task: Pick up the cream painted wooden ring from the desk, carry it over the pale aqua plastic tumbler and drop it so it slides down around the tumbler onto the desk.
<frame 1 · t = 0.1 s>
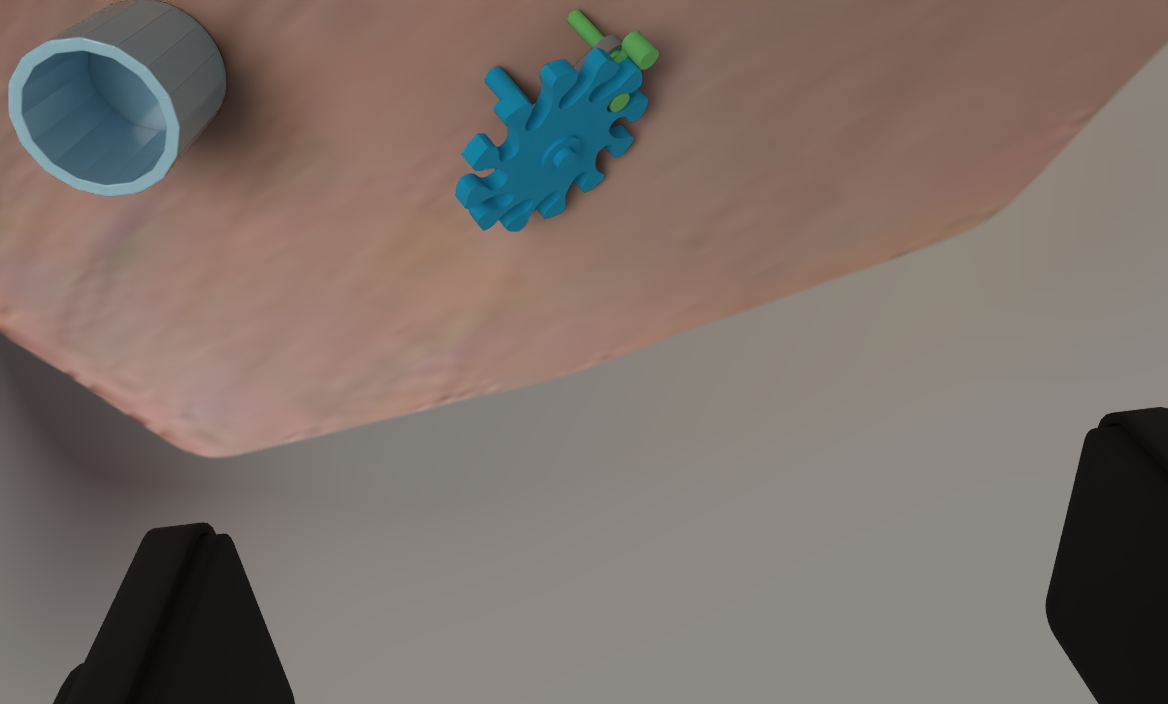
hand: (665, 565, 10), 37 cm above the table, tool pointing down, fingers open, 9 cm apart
cup: (155, 69, 42), on the table
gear: (557, 110, 45), on the table
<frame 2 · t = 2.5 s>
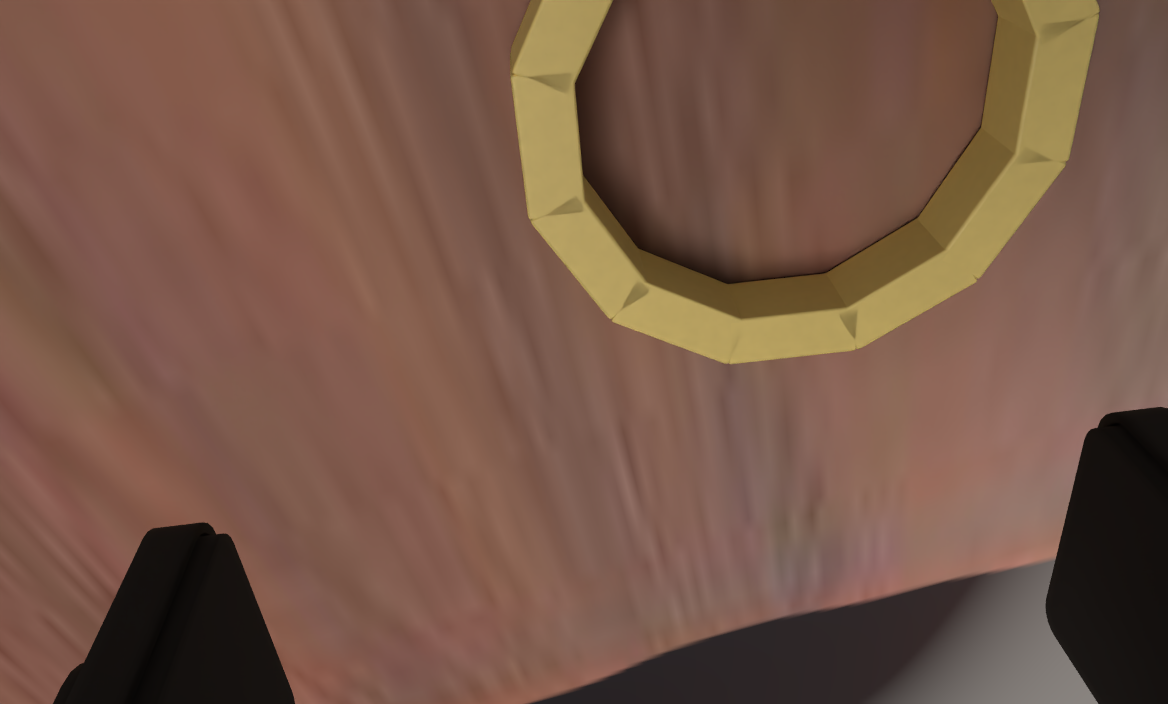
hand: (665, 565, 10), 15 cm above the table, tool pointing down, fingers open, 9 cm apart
ring: (782, 94, 23), on the table
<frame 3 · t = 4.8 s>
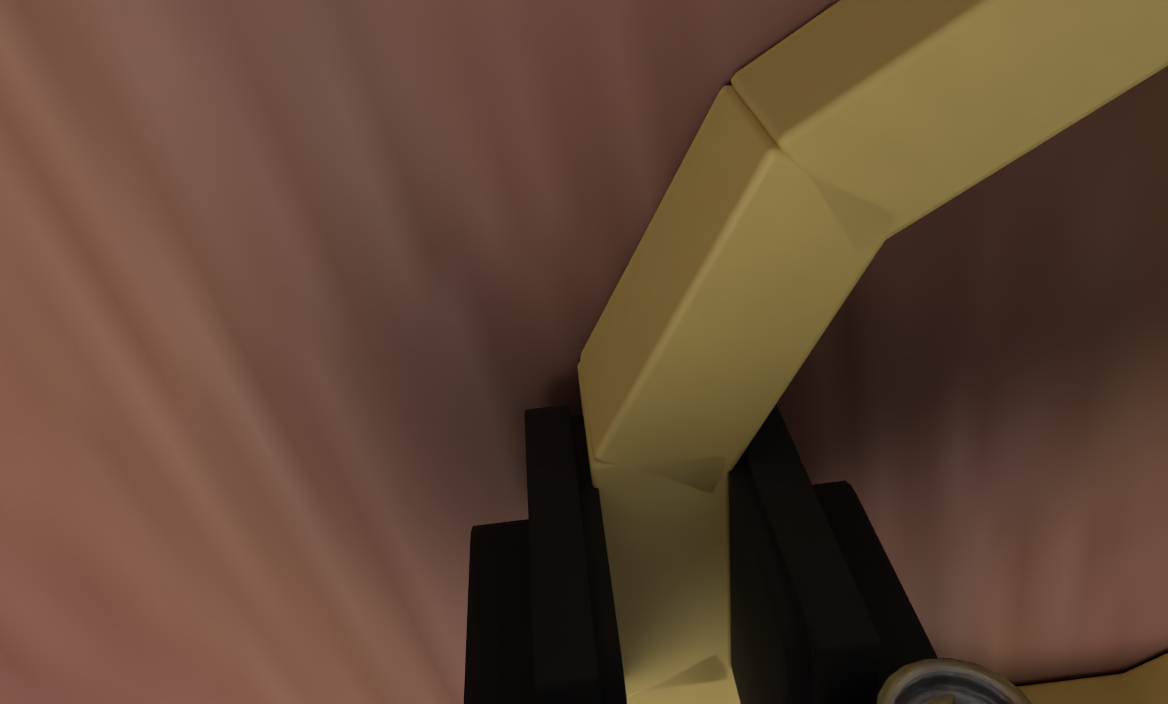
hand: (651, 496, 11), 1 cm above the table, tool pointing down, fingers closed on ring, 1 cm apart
ring: (1102, 414, 12), on the table, touching gripper
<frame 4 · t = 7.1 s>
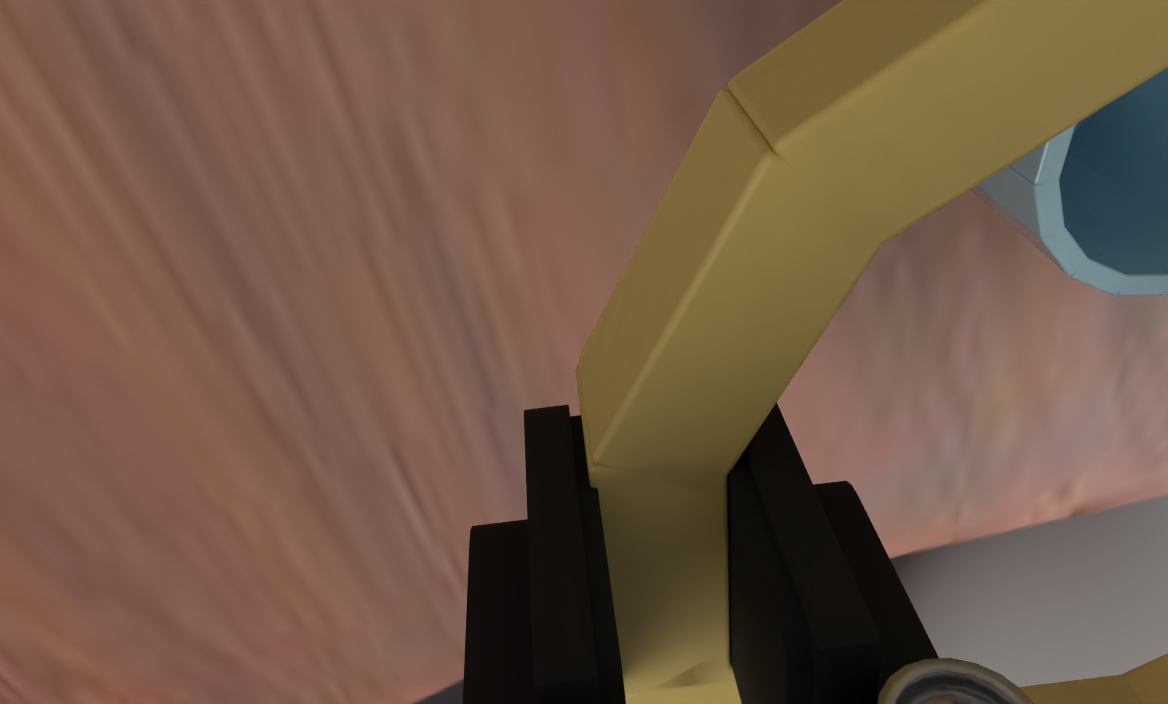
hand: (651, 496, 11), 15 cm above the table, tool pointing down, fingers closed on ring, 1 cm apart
cup: (1014, 56, 24), on the table
ring: (1100, 415, 12), point 15 cm above the table, touching gripper
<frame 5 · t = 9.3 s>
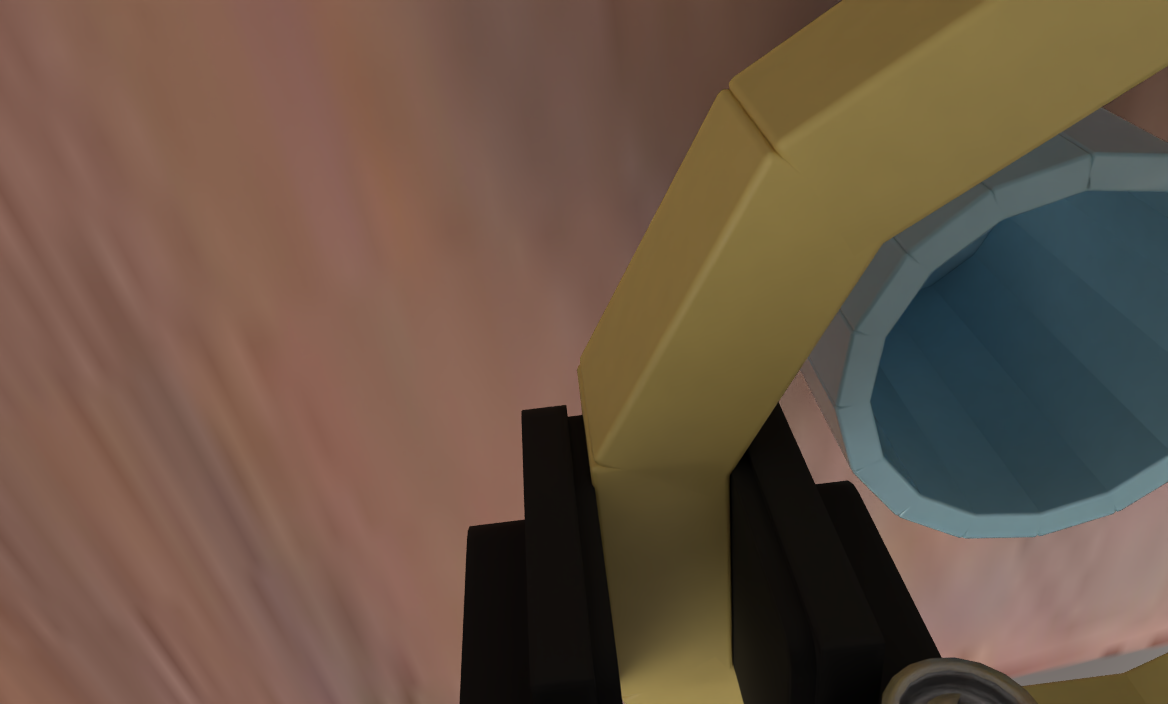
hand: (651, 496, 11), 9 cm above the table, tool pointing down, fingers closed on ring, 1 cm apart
cup: (876, 175, 19), on the table
ring: (1101, 414, 12), point 9 cm above the table, touching gripper
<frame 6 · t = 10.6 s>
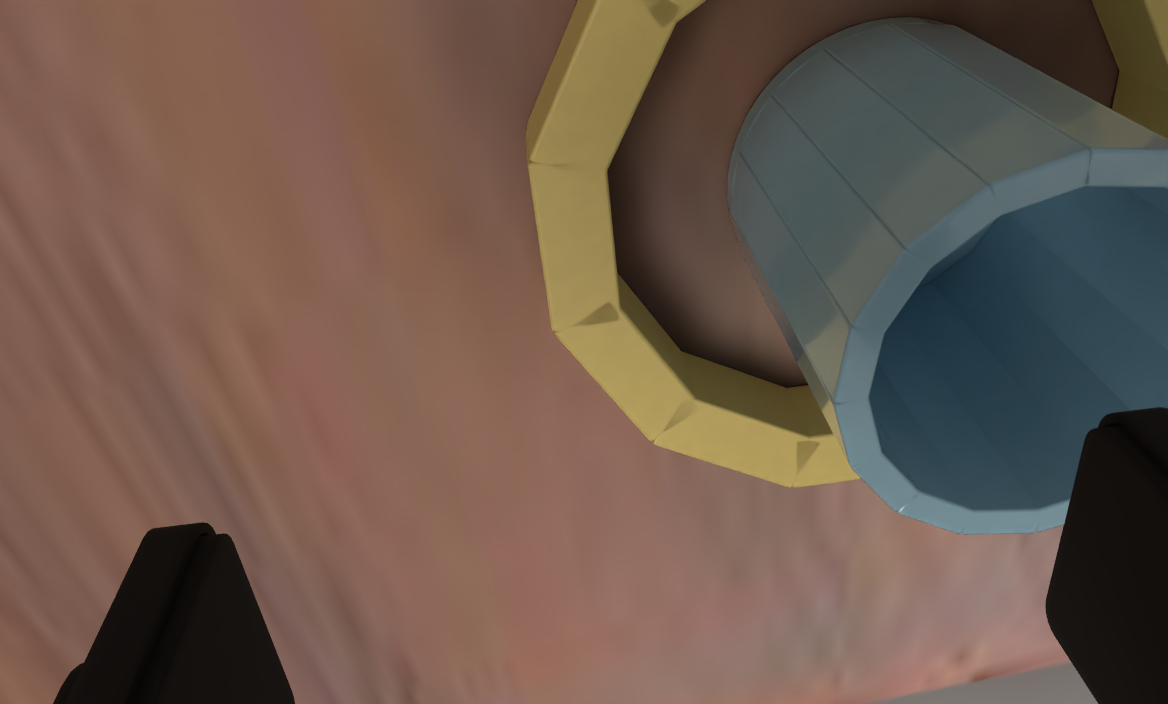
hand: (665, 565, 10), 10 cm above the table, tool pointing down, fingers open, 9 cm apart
cup: (874, 172, 19), on the table
ring: (855, 169, 19), on the table
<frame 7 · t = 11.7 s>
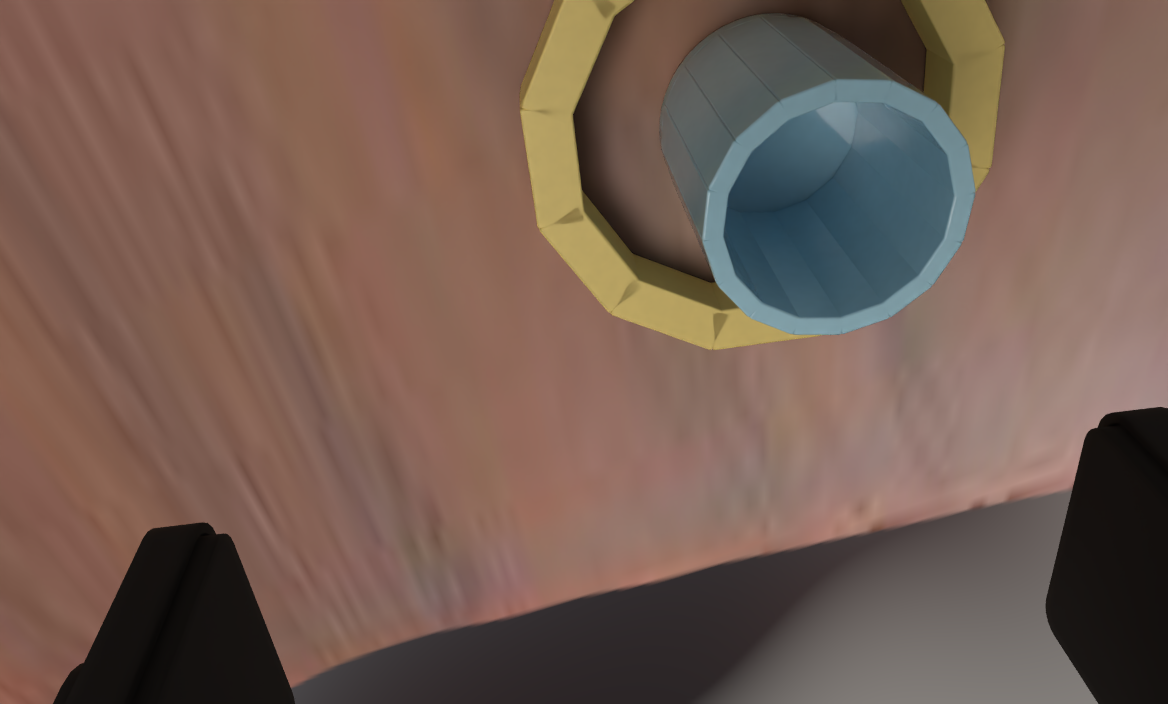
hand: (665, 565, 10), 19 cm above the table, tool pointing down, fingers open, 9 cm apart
cup: (762, 121, 28), on the table
ring: (748, 119, 28), on the table
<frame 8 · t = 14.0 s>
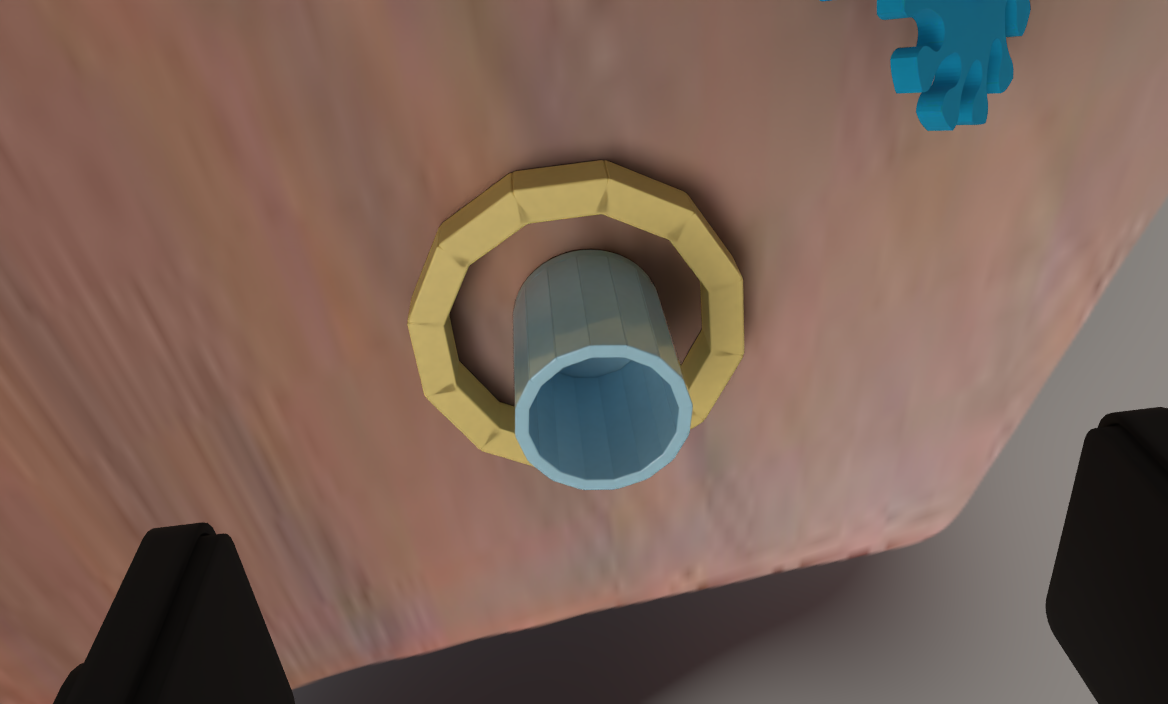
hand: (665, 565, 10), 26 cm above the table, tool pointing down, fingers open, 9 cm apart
cup: (587, 316, 39), on the table
ring: (576, 315, 39), on the table
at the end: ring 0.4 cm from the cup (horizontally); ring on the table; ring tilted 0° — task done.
